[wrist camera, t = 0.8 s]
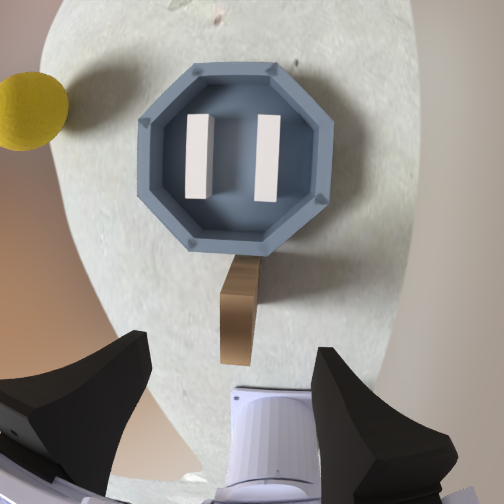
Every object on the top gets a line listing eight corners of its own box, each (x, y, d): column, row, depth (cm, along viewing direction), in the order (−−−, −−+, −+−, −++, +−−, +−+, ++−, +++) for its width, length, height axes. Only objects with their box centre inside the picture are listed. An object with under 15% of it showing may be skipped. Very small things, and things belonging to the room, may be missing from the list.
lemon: (30, 134, 18) (-41, 137, 11) (56, 73, 17) (-13, 57, 9) (69, 160, 19) (-8, 169, 11) (100, 93, 17) (26, 74, 10)
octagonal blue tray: (316, 245, 20) (323, 260, 17) (156, 236, 20) (138, 248, 17) (326, 80, 16) (335, 67, 13) (159, 79, 17) (141, 68, 14)
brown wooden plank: (257, 304, 21) (249, 366, 14) (236, 302, 21) (220, 363, 15) (260, 250, 20) (253, 296, 13) (237, 248, 20) (219, 293, 13)
